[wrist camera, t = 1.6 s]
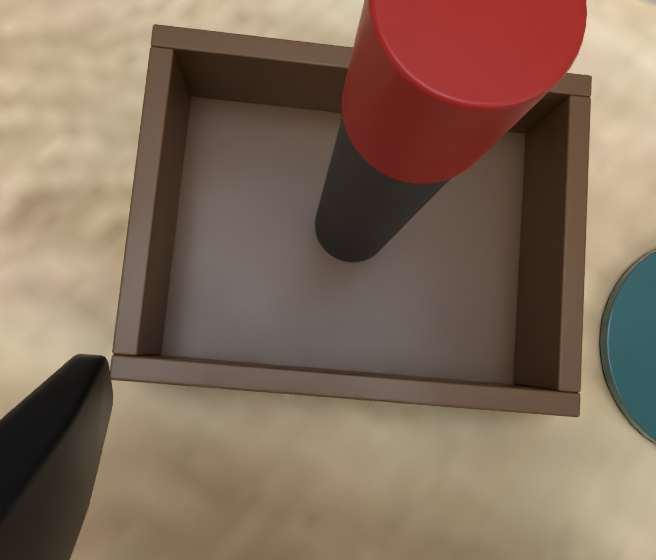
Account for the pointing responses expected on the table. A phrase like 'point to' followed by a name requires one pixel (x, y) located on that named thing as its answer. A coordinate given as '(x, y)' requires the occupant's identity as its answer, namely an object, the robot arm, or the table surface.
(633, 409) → the coaster
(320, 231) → the marker
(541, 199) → the box
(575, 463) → the table surface
